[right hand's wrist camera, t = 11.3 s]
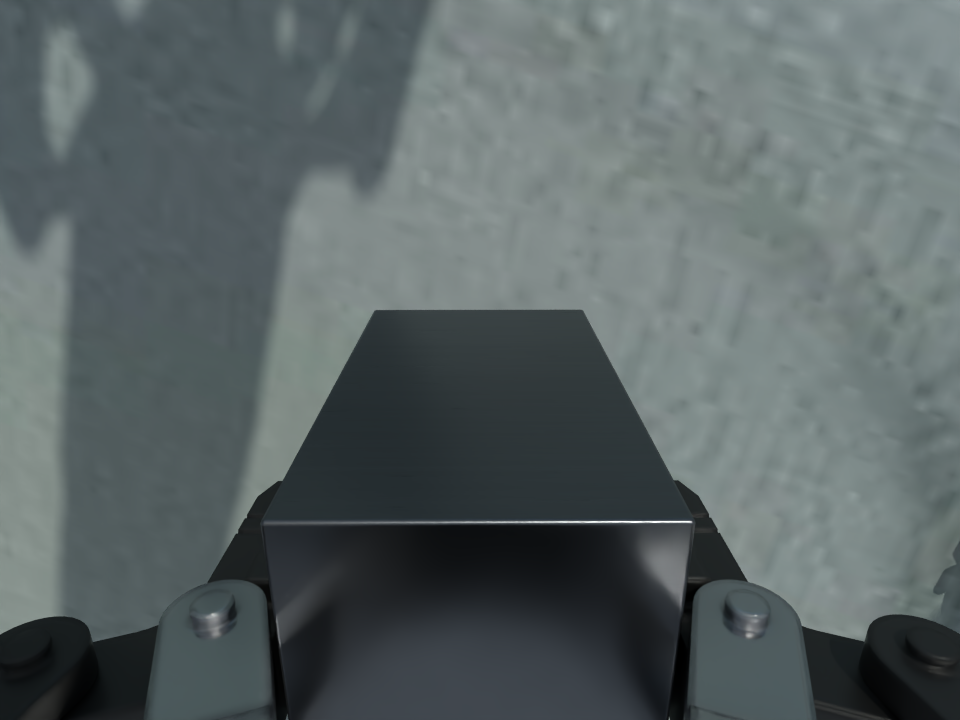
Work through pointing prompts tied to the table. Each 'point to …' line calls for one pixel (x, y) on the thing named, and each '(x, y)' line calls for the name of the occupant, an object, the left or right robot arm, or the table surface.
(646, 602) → the bar
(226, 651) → the right robot arm
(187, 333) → the table surface
